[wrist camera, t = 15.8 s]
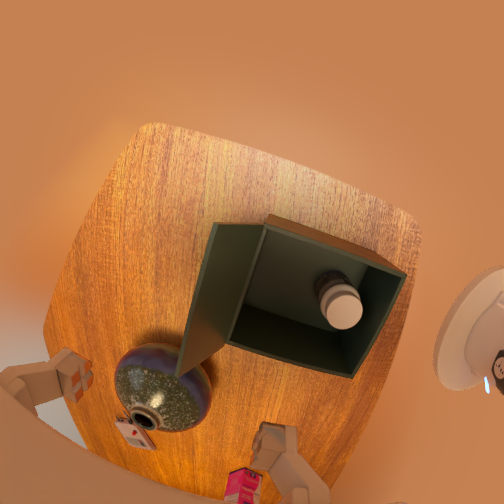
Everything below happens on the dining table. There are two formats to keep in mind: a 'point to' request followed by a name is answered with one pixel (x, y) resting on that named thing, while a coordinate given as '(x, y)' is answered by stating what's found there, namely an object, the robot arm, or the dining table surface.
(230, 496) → the supplement box
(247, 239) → the dark green box lid
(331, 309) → the pill bottle
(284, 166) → the dining table surface
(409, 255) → the dining table surface
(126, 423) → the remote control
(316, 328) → the open box
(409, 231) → the dining table surface
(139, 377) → the vase
